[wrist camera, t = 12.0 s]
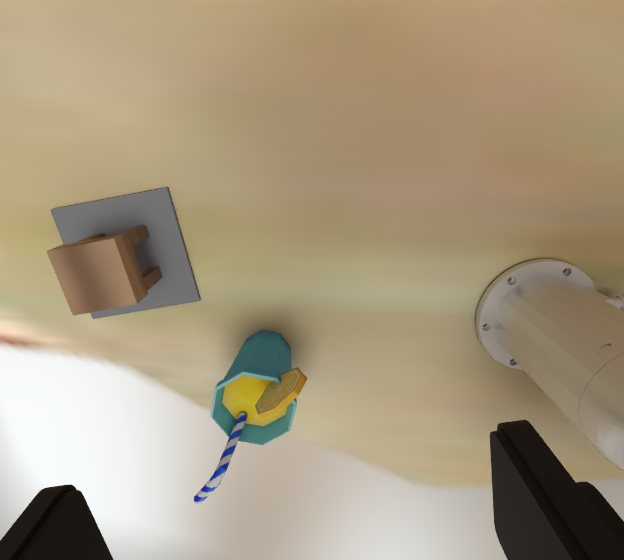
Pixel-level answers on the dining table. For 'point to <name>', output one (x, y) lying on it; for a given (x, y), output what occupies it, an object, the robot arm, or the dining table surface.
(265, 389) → the cup
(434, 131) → the dining table surface
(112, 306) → the brown box with pegs
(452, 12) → the dining table surface
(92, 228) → the mat
